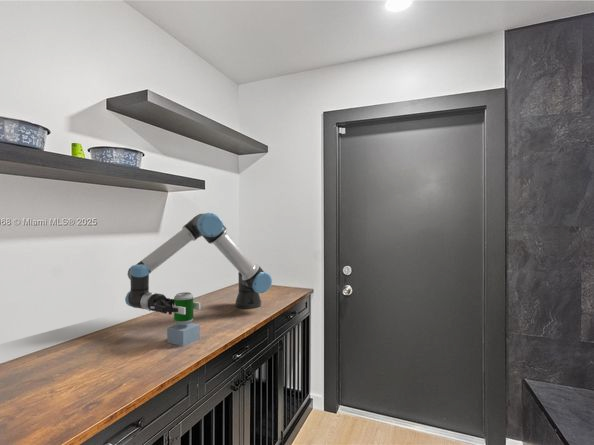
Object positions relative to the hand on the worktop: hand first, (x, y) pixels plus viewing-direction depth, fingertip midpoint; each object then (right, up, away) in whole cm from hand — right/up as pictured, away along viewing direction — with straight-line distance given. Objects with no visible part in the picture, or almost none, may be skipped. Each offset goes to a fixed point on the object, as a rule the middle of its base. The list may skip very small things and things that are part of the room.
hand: (192, 308), depth 129 cm
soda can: (-4, -7, +2) cm, 8 cm away
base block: (-4, -14, +2) cm, 15 cm away
